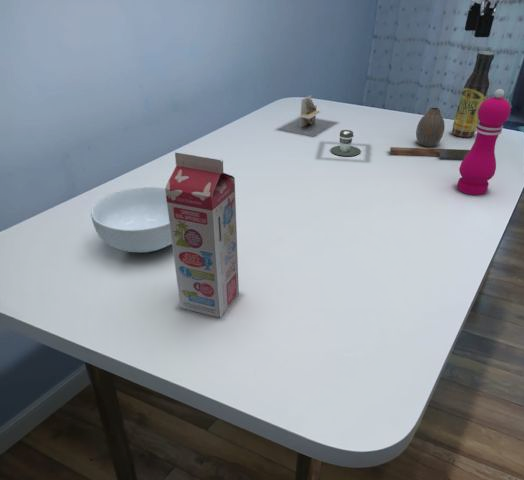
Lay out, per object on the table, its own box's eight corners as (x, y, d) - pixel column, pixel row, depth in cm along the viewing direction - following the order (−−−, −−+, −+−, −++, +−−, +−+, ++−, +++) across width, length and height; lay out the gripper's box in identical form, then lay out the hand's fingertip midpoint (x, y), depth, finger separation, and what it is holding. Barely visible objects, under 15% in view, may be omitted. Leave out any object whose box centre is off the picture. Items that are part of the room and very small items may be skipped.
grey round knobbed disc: (368, 145, 130) (371, 125, 127) (367, 161, 121) (370, 140, 118) (322, 142, 131) (324, 122, 128) (318, 158, 123) (320, 137, 119)
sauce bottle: (446, 134, 137) (466, 51, 124) (458, 129, 140) (478, 48, 127) (468, 140, 133) (490, 55, 120) (479, 135, 136) (503, 52, 123)
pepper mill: (491, 197, 105) (524, 94, 92) (456, 194, 106) (484, 92, 93) (486, 184, 111) (516, 85, 97) (452, 181, 111) (478, 83, 98)
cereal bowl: (93, 229, 93) (84, 193, 89) (178, 215, 98) (174, 180, 94) (106, 274, 82) (97, 235, 77) (203, 255, 86) (200, 218, 82)
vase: (417, 138, 134) (424, 103, 128) (442, 142, 132) (451, 106, 126) (411, 146, 129) (418, 110, 124) (437, 150, 127) (446, 113, 121)
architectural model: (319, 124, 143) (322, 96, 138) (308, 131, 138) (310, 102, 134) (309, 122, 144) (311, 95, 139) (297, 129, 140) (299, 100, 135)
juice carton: (201, 285, 79) (187, 144, 65) (238, 294, 77) (233, 151, 63) (180, 307, 75) (161, 161, 60) (220, 318, 73) (209, 169, 58)
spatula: (472, 152, 126) (473, 147, 125) (477, 160, 121) (478, 155, 121) (388, 149, 128) (389, 144, 127) (390, 157, 123) (391, 152, 122)
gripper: (529, -64, 96) (503, 39, 107) (505, -64, 109) (483, 28, 120) (489, -63, 96) (467, 40, 107) (469, -64, 110) (452, 28, 121)
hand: (476, 33), depth 114 cm, fingers open, 9 cm apart
